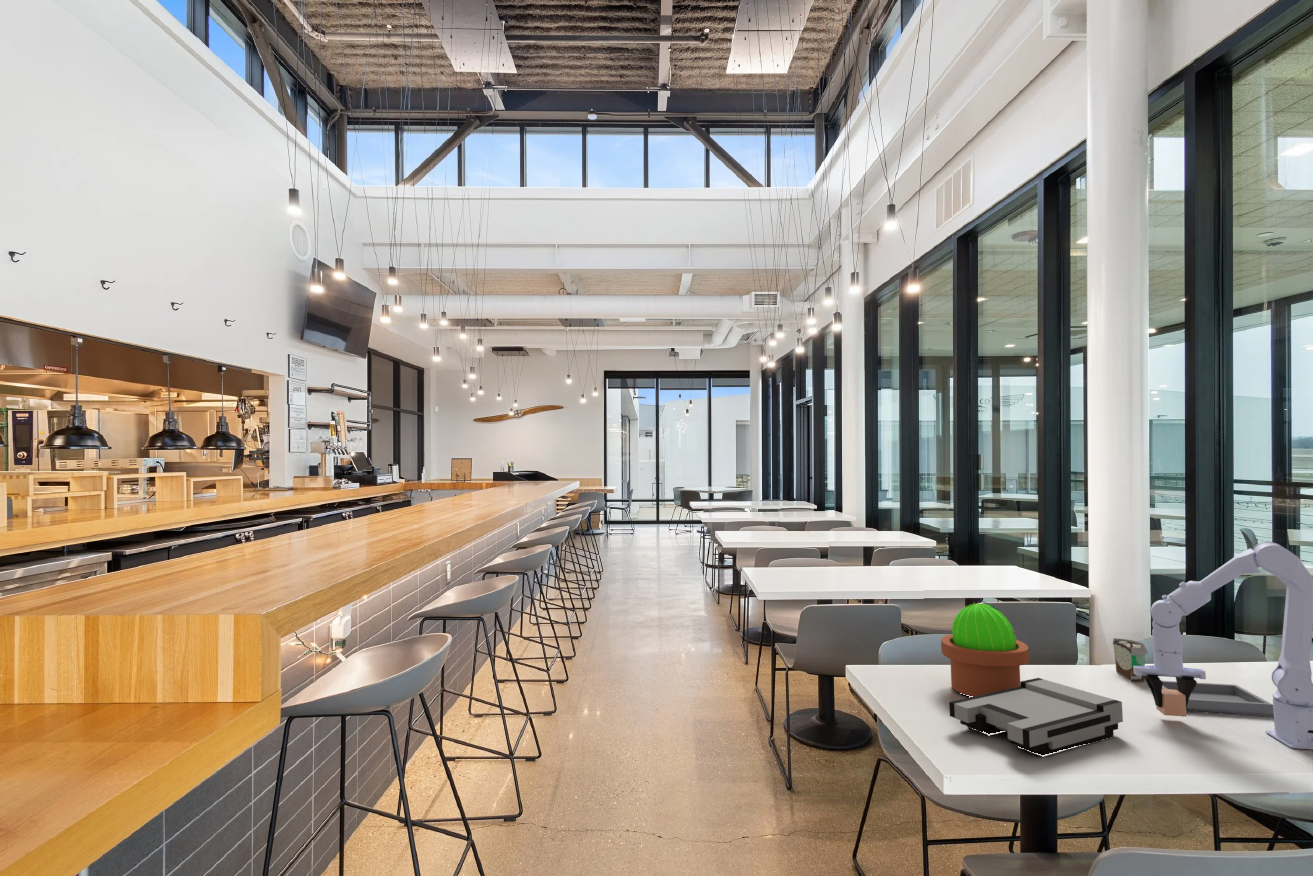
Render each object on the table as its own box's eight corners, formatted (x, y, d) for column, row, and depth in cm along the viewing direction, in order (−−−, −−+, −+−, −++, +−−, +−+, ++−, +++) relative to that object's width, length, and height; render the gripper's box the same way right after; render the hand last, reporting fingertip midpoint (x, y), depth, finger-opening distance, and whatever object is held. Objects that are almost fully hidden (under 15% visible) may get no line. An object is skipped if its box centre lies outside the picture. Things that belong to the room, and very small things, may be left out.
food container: (1158, 684, 192) (1156, 649, 193) (1134, 683, 193) (1132, 648, 194) (1136, 672, 204) (1134, 638, 205) (1114, 671, 206) (1112, 637, 206)
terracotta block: (1186, 716, 162) (1185, 695, 162) (1164, 715, 163) (1163, 694, 164) (1177, 710, 166) (1176, 689, 167) (1156, 709, 168) (1155, 688, 168)
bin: (1273, 717, 166) (1273, 704, 166) (1179, 711, 171) (1178, 699, 171) (1236, 696, 181) (1236, 684, 182) (1151, 691, 187) (1150, 680, 187)
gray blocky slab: (950, 731, 161) (949, 696, 161) (1039, 710, 175) (1038, 677, 175) (1030, 765, 142) (1028, 725, 143) (1123, 737, 156) (1121, 701, 156)
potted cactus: (953, 703, 180) (950, 608, 181) (935, 678, 201) (931, 593, 202) (1043, 707, 176) (1038, 610, 177) (1014, 681, 197) (1010, 595, 199)
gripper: (1193, 647, 168) (1197, 703, 167) (1127, 645, 171) (1130, 699, 171) (1208, 655, 161) (1212, 713, 160) (1139, 652, 165) (1142, 708, 164)
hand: (1170, 706), depth 165 cm, fingers closed on terracotta block, 4 cm apart
